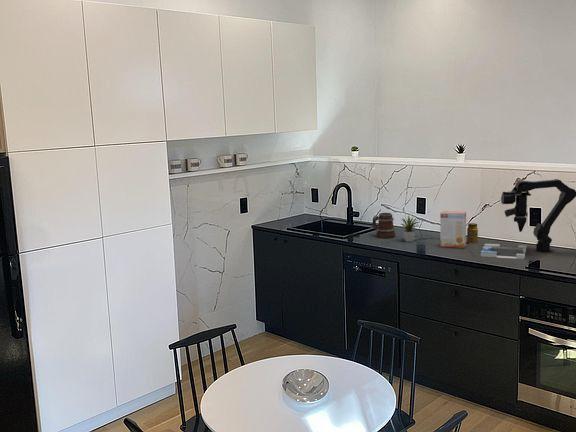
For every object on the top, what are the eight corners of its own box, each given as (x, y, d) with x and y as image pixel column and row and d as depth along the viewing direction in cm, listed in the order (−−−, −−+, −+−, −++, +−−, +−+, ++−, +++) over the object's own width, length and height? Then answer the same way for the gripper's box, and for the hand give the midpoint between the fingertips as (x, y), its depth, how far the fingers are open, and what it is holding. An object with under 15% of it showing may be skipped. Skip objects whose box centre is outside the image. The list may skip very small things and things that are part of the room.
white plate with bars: (526, 251, 334) (526, 243, 333) (524, 260, 314) (524, 252, 313) (484, 248, 343) (485, 241, 342) (480, 258, 323) (480, 250, 322)
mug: (398, 235, 386) (398, 212, 383) (389, 239, 376) (389, 216, 374) (376, 233, 395) (376, 211, 393) (367, 236, 386) (367, 214, 383)
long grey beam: (522, 255, 322) (523, 247, 321) (522, 257, 318) (522, 249, 317) (491, 253, 328) (491, 246, 327) (491, 255, 324) (491, 248, 324)
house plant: (410, 244, 360) (410, 218, 357) (392, 241, 370) (392, 215, 367) (424, 240, 369) (424, 214, 366) (406, 237, 379) (406, 212, 376)
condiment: (480, 243, 355) (481, 223, 353) (471, 245, 351) (471, 226, 349) (470, 241, 361) (471, 222, 359) (461, 243, 357) (461, 224, 355)
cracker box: (466, 246, 351) (466, 211, 347) (464, 248, 345) (465, 213, 341) (442, 244, 356) (442, 210, 353) (440, 247, 351) (440, 212, 347)
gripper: (506, 200, 337) (506, 227, 340) (504, 206, 320) (503, 234, 323) (528, 201, 333) (527, 228, 335) (526, 206, 316) (525, 235, 319)
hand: (520, 231), depth 328 cm, fingers closed
